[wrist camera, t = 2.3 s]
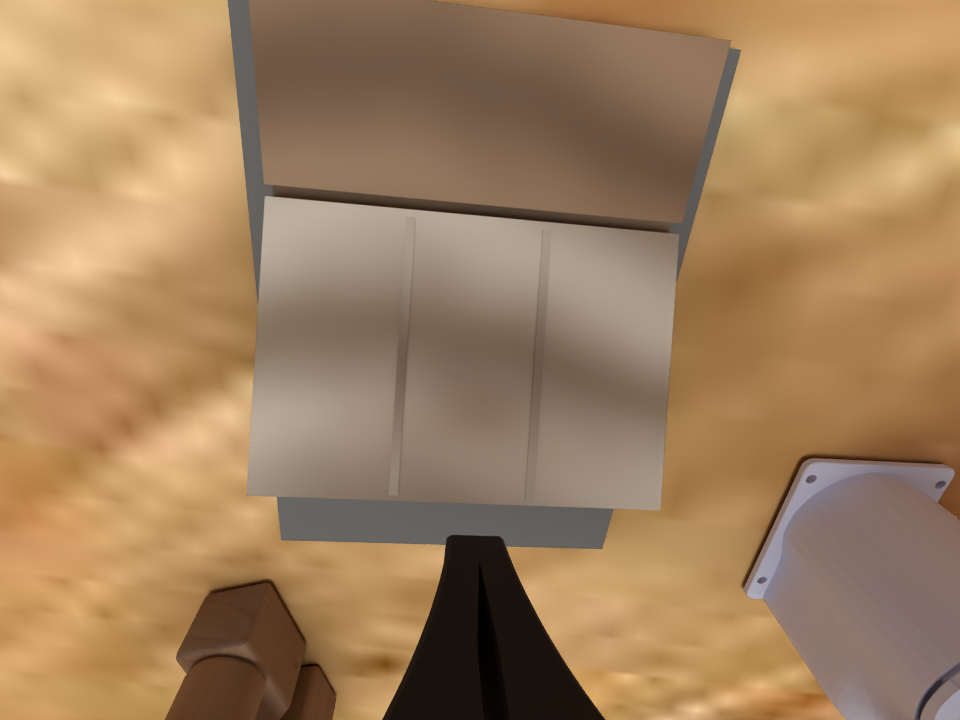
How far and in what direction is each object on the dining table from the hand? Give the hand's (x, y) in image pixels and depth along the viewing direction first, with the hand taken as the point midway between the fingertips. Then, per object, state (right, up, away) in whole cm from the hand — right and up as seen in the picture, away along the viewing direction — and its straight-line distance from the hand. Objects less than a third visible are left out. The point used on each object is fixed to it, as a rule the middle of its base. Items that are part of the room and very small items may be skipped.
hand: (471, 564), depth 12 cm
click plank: (0, +5, +5) cm, 7 cm away
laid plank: (0, +14, +5) cm, 14 cm away
